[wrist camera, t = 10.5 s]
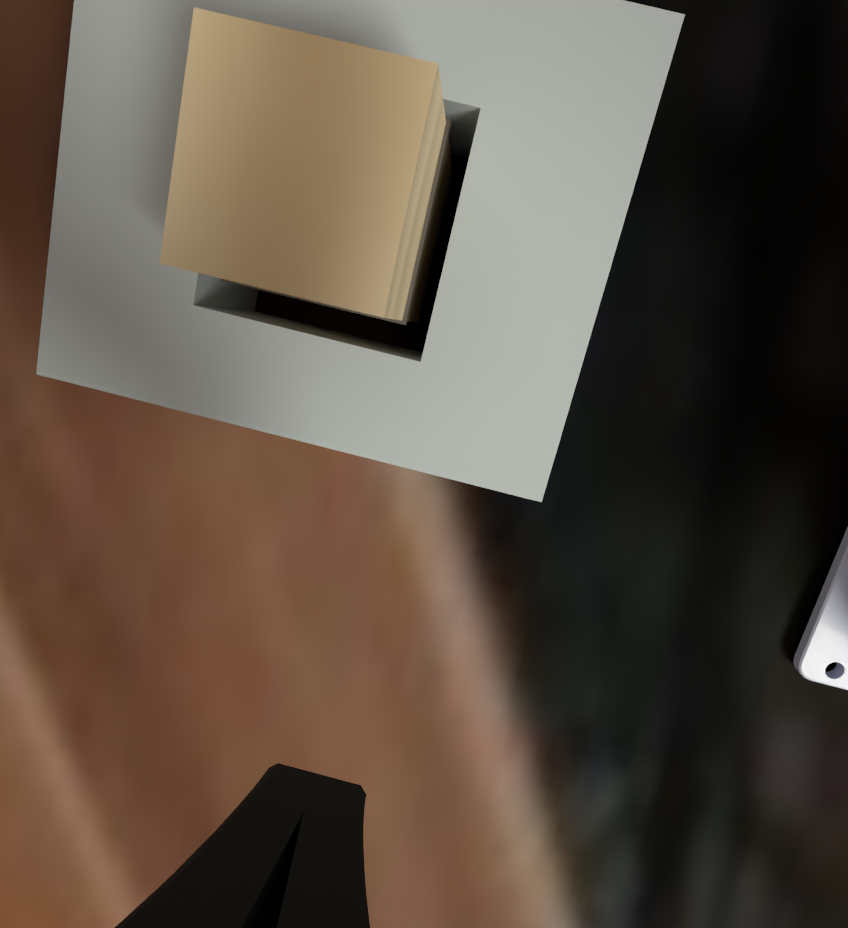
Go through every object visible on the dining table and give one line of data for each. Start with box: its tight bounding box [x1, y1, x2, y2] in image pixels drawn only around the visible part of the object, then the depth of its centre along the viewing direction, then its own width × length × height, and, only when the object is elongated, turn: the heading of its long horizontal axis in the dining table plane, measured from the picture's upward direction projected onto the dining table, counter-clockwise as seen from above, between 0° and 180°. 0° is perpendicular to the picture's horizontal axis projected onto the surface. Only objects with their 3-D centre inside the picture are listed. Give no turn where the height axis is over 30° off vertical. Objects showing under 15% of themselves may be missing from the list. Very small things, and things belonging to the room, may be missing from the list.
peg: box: [159, 7, 453, 325], centre depth 14 cm, size 4×4×7 cm
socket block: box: [36, 0, 685, 502], centre depth 15 cm, size 12×10×4 cm
